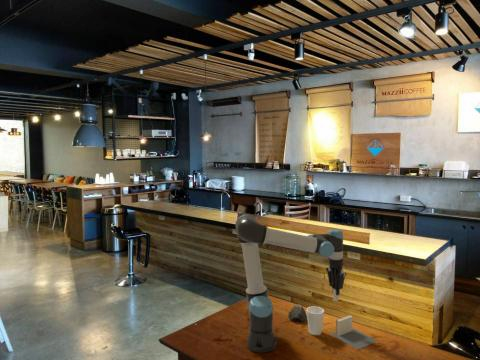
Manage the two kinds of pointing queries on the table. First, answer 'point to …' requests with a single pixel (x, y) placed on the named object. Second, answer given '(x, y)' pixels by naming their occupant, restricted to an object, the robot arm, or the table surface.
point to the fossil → (297, 313)
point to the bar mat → (355, 339)
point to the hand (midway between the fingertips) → (336, 299)
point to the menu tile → (344, 325)
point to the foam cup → (315, 319)
